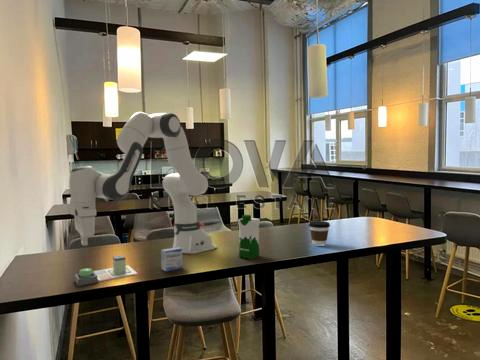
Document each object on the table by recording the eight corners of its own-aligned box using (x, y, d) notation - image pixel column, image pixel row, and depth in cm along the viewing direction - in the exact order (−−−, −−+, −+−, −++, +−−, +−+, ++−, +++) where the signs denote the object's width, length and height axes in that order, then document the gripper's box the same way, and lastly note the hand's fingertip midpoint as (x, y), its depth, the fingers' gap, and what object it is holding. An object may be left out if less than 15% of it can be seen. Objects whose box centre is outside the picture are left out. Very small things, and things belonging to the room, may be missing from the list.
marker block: (123, 269, 156) (122, 255, 155) (125, 271, 152) (125, 257, 152) (113, 270, 154) (112, 256, 153) (115, 273, 150) (115, 258, 150)
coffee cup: (304, 245, 194) (304, 222, 193) (317, 241, 202) (317, 220, 201) (321, 249, 186) (321, 225, 185) (334, 245, 193) (334, 222, 193)
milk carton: (236, 257, 173) (235, 215, 171) (246, 253, 180) (246, 212, 179) (252, 260, 168) (251, 217, 166) (262, 256, 175) (262, 214, 174)
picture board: (128, 266, 161) (128, 264, 161) (137, 274, 151) (137, 272, 150) (91, 272, 153) (91, 271, 153) (98, 281, 142) (98, 280, 142)
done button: (90, 275, 146) (90, 267, 146) (93, 278, 142) (92, 270, 142) (78, 277, 143) (78, 269, 143) (80, 280, 140) (80, 272, 140)
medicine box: (165, 272, 153) (165, 251, 153) (161, 269, 157) (160, 249, 156) (182, 268, 158) (182, 248, 157) (178, 265, 162) (177, 246, 161)
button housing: (93, 277, 148) (93, 271, 148) (97, 282, 142) (97, 275, 142) (74, 280, 144) (74, 274, 144) (78, 286, 138) (77, 279, 138)
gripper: (69, 206, 148) (71, 240, 149) (78, 213, 131) (80, 251, 132) (86, 205, 151) (88, 238, 152) (97, 211, 134) (98, 249, 135)
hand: (84, 244), depth 142 cm, fingers closed
